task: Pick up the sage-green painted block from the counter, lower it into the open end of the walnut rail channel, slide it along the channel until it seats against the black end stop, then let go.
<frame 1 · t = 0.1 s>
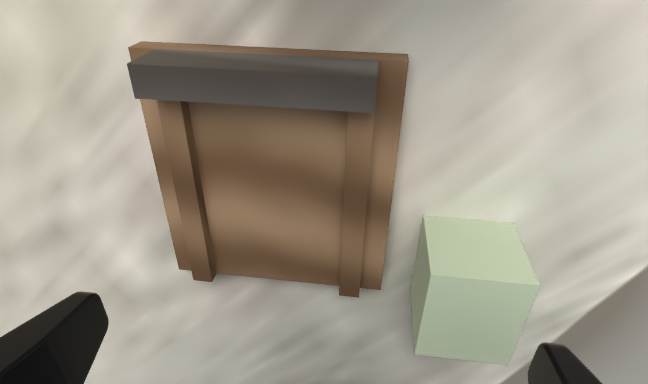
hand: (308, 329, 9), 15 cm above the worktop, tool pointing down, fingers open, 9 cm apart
channel board: (276, 174, 24), on the worktop
block: (458, 257, 26), on the worktop
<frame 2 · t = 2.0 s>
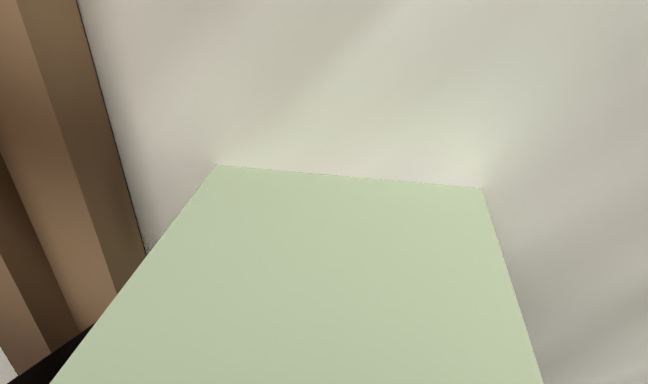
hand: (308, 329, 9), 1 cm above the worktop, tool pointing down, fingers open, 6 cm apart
block: (338, 287, 10), on the worktop
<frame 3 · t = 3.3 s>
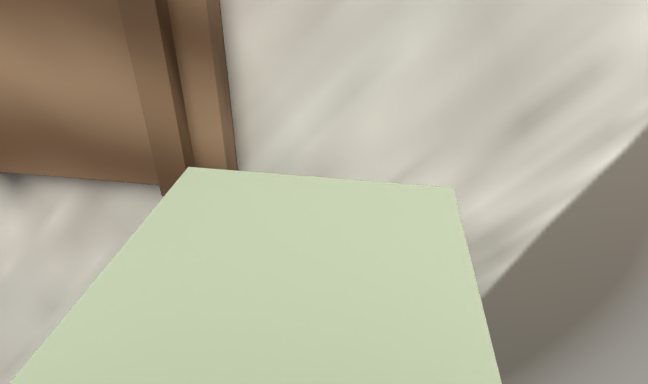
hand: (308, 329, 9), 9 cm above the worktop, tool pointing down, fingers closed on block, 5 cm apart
block: (315, 291, 9), point 8 cm above the worktop, touching gripper
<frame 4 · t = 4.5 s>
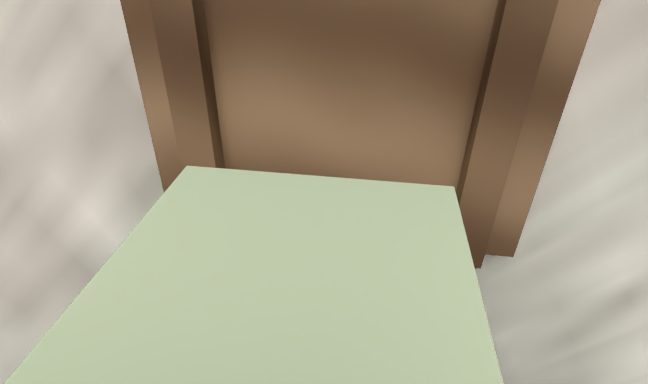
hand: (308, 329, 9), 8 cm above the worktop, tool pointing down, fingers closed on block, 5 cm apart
channel board: (346, 42, 13), on the worktop
block: (315, 291, 9), point 7 cm above the worktop, touching gripper
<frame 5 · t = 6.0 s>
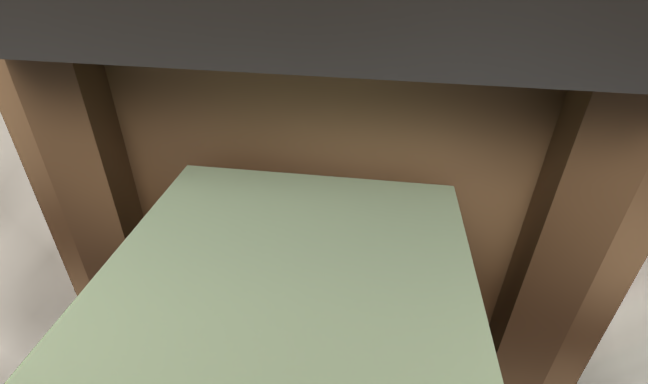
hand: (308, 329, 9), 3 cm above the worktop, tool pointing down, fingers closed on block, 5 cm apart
channel board: (326, 246, 11), on the worktop
block: (315, 290, 9), point 2 cm above the worktop, touching gripper
when the fingers open (2 cm above the worktop, at t = 6.9 s): block stays where it is, resting on channel board.
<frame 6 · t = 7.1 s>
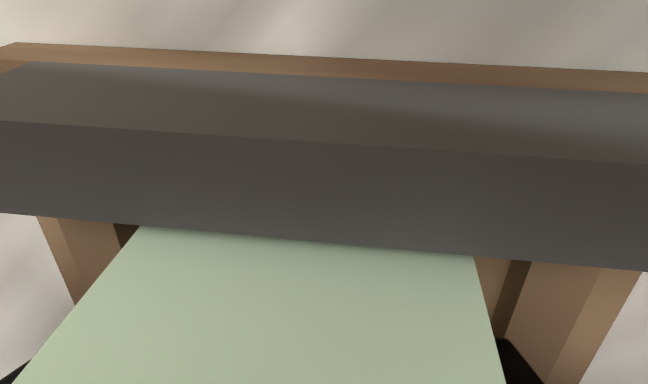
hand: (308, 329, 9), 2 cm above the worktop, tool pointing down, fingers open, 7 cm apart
channel board: (322, 309, 12), on the worktop
block: (318, 284, 10), point 1 cm above the worktop, touching channel board
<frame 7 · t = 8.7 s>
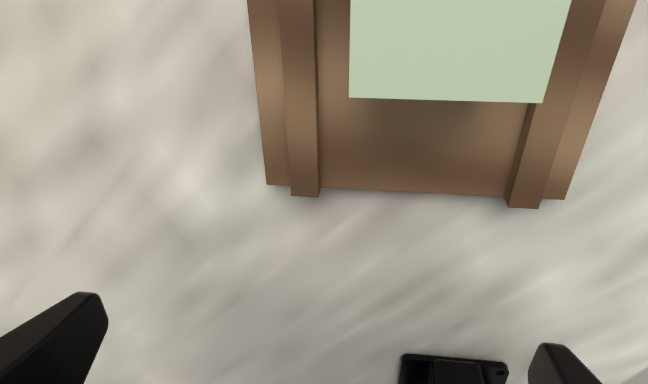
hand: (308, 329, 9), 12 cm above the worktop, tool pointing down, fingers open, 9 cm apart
channel board: (426, 18, 16), on the worktop
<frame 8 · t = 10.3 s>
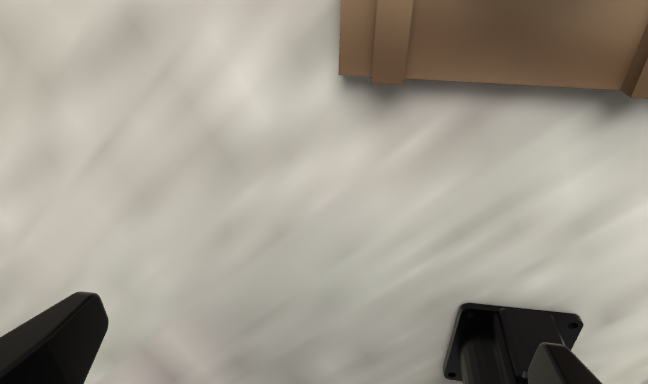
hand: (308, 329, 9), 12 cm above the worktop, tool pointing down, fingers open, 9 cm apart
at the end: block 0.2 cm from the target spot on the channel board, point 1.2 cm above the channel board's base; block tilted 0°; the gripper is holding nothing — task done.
